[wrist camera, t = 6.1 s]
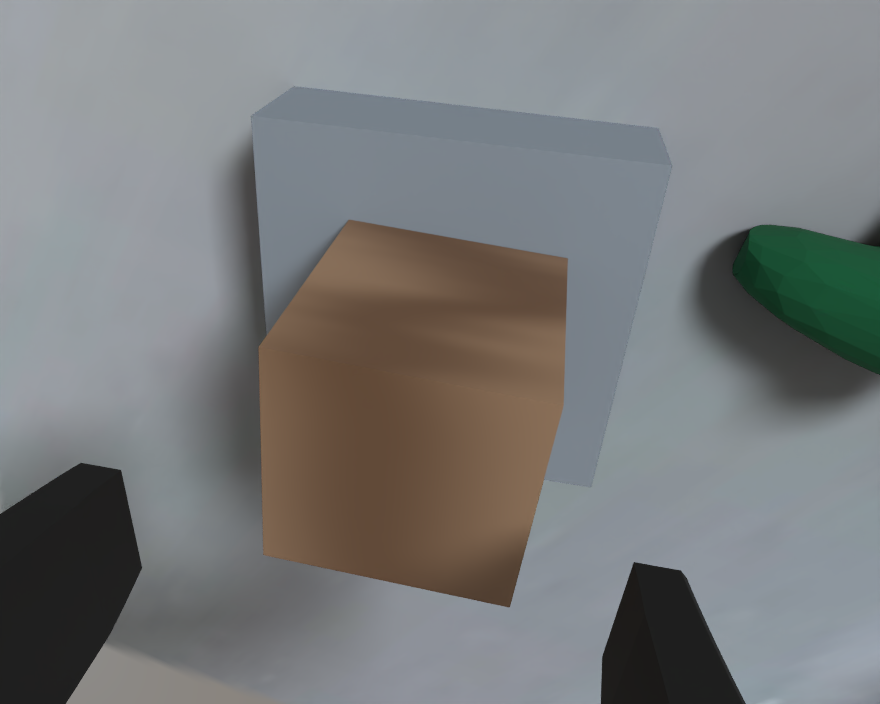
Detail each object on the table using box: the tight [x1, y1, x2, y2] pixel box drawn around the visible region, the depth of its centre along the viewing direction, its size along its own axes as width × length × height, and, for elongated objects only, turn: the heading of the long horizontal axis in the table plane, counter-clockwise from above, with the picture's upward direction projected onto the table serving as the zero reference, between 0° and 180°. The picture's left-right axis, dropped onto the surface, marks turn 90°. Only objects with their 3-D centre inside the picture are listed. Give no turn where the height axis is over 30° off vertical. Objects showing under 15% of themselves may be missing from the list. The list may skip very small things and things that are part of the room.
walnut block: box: [259, 220, 568, 607], centre depth 14 cm, size 4×4×5 cm
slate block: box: [251, 86, 672, 487], centre depth 17 cm, size 8×8×3 cm
